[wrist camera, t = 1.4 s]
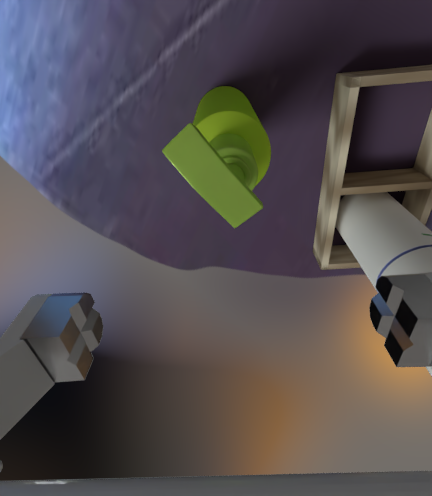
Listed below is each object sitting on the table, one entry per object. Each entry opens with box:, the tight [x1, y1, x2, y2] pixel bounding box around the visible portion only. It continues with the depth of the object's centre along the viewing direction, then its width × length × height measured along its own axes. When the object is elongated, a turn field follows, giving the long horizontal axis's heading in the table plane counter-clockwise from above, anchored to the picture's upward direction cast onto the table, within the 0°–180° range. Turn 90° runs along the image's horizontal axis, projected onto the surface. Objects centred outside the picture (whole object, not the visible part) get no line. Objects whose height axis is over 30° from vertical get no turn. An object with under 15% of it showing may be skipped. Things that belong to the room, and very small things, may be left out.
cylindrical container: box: [335, 192, 432, 376], centre depth 27 cm, size 7×7×25 cm
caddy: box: [313, 65, 432, 270], centre depth 33 cm, size 21×11×4 cm, turn 5°
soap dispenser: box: [162, 86, 271, 228], centre depth 22 cm, size 6×7×20 cm
